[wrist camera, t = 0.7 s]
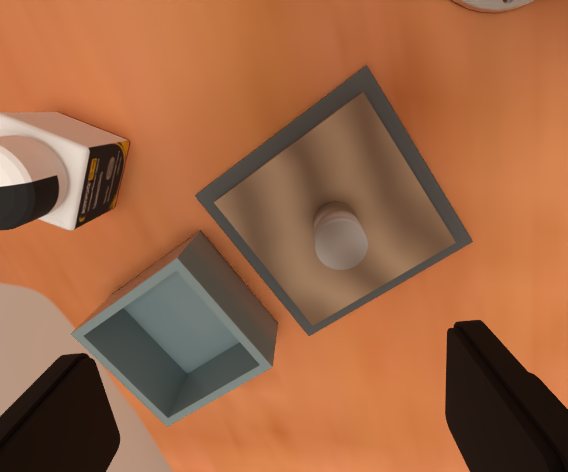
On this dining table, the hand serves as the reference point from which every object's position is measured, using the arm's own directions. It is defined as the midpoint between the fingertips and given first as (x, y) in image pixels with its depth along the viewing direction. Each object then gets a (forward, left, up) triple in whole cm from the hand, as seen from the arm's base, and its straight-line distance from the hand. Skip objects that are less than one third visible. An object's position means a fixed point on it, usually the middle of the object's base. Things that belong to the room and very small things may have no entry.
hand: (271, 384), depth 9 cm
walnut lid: (-1, +5, -26) cm, 26 cm away
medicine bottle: (+15, -13, -26) cm, 33 cm away
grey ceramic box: (+17, +5, -26) cm, 31 cm away
